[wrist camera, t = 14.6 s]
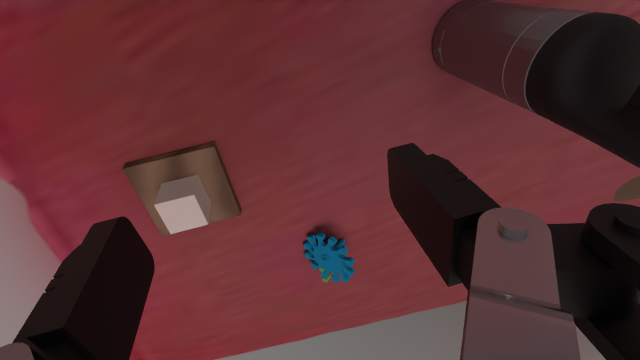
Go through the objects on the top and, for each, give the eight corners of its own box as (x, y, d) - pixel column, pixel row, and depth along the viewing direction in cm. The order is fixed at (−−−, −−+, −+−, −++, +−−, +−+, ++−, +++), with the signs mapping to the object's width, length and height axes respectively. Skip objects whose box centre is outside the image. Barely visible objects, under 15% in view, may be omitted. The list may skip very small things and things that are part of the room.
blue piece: (304, 227, 53) (357, 259, 50) (324, 208, 58) (373, 236, 54) (297, 267, 60) (343, 298, 57) (315, 248, 64) (359, 276, 61)
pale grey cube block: (198, 174, 45) (194, 194, 41) (210, 202, 48) (208, 224, 43) (161, 183, 44) (153, 204, 40) (176, 211, 47) (170, 234, 43)
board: (214, 141, 44) (212, 157, 40) (241, 208, 51) (241, 228, 47) (125, 163, 43) (114, 181, 39) (164, 229, 50) (158, 250, 46)
